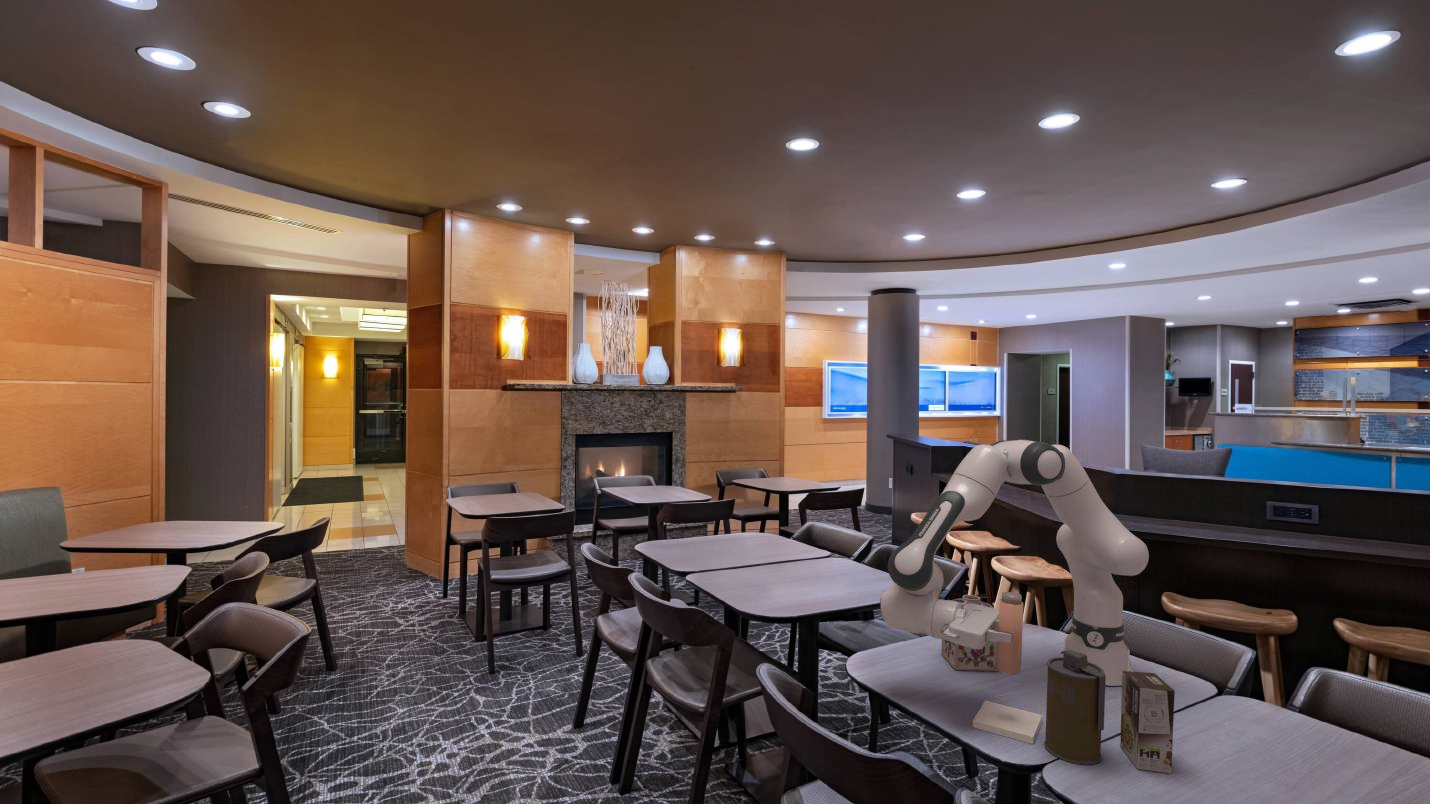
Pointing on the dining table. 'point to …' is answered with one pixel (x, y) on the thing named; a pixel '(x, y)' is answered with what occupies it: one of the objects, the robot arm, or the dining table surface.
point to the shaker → (1012, 624)
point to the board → (1008, 721)
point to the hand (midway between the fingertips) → (1014, 634)
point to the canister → (1075, 708)
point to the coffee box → (1147, 721)
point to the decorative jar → (971, 650)
